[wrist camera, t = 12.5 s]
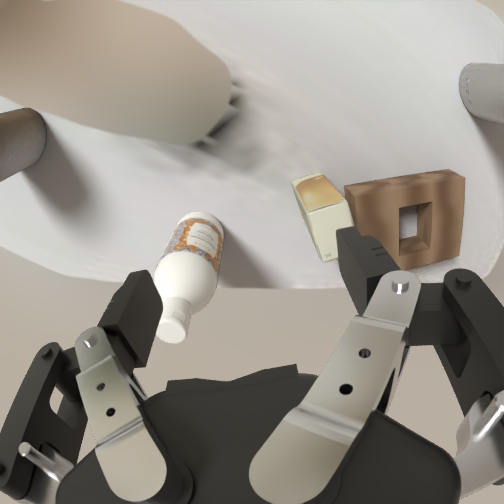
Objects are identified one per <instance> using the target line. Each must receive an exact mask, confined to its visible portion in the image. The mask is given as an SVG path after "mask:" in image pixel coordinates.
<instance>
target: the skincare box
mask: <svg viewBox="0 0 504 504" xmlns="http://www.w3.org/2000/svg"><path fill="white" fill-rule="evenodd" d="M292 186H293V189H294V193H295V196H296V199H297V202H298V205H299V208H300V210H301V213H302V216H303V219H304V221H305V223H306V226H307V228H308V230H309V233H310V235H311V238H312V240H313V243H314V245H315V248H316V250H317V252H318V255H319V257H320V260H321V262H322V263H326V262H329V261H333V260H336V259H338V250H337V240H336V230H337V229H341V228H346V227H350V226H354V224H353V220H352V216H351V212H350V209H349V206H348V202H347V200H346V199H345V198H344V197H343V196H342V195H341V194H340V193H339V191H338V190H337V189H336V188H335V187H334V186H333V185H332V184H331V183H330V182H329V181H328V180H327V179H326V177H325V176H324V175H323V174H322V173H321V172H319V173H316V174H312V175H309V176H306V177H302V178H299V179H296V180H294V181H292Z"/></svg>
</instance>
